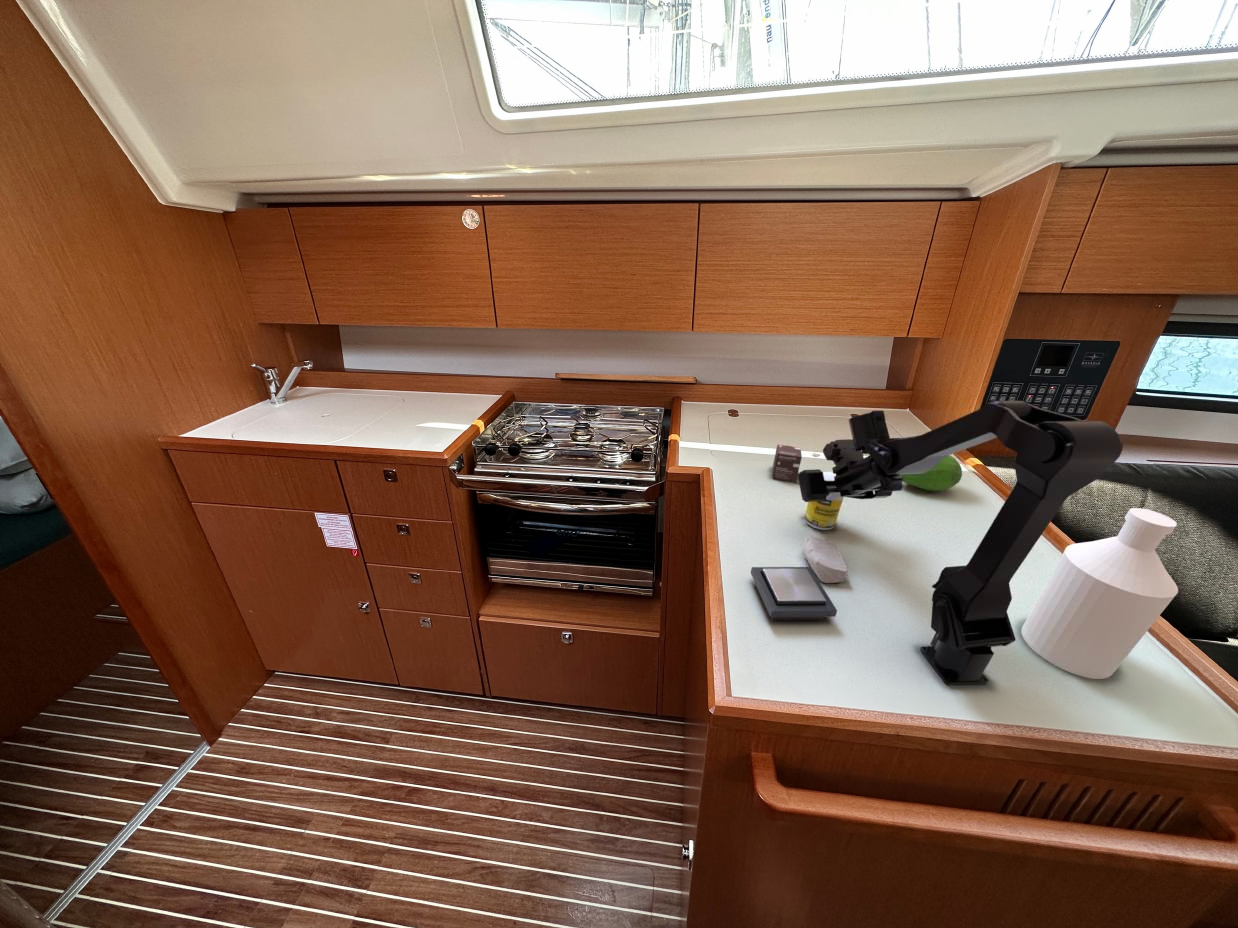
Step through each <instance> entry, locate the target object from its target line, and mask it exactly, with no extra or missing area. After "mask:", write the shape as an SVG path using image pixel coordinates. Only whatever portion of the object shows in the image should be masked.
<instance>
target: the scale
mask: <svg viewBox="0 0 1238 928" xmlns="http://www.w3.org/2000/svg"><path fill="white" fill-rule="evenodd" d="M763 569H807V570H808V572H809V573H810V575H811V577H812V578H813V580H814V582H815V583H816V585H817V587H818V588H819V590H820V591H821V593H822V595H823V596H824V598H825V600H826V602H825V605H818V606H776V603H775V601H774V599H773V597H772V595H771V593H770V591H769V589H768V587H767V585H766V582H765V580H764V578H763V576H762V571H763ZM750 575H751V577H752V579H753V582H754V584H755V586H756V588H757V591H758V593H759V595H760V598H761V600H762V602H763V604H764V606H765V608H766V611H767V613H768V616H769V617H770V619H771V621H824V620H826V618H835V617H836V616H837V613H838V610H837V608H836V606H835V604H834V603H833V601H832V600H831V598H830V596H829V595H828V594H827V591H826V590H825V588H824V587H823V586H822V584H821V582H820V580H819V578H818V576H817V575H816V574H815V572H814V571H813V569H812V568H811V566H752V567H751V569H750Z"/></svg>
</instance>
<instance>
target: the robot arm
mask: <svg viewBox="0 0 1238 928" xmlns="http://www.w3.org/2000/svg"><path fill="white" fill-rule="evenodd" d="M848 426H849V430H850V434H851V438H852V439H851V438H850V439H848V438H847V439H845V438H844V439H836V440H833V441H830V442H829V443H826V444H825V445H824V447H823V449H822V453H823V456H824V458H825V459H826V461H831V462H833V464H834V466H833V467H831V469H832V473H833V474H836V476H834V481H825V480H824V475H823V471H822V470H821V469H820V468H814V469H803V470H801V471H800V472H798V475H797V480H798V485H799V490H800V495H801V498H802V499H801V500H802V501H804V503H808V502H820V501H826V497H827V496H829V493H840V495H841V497H844V498H849V499H850V498H851V499H857V500H872V499H886V498H889V497H892V495H893V492H901V491H903V487H904V484H903V478H901V474H921V473H925V472H927V471H929V470H930V469H932V468H934V467H935V466H937V465H938V464H939V463H940V461H941V460H942V459H943V458H944V457H946V456H948V455H950V456H951V455H953V454H955V453H959V452H962V451H964V450H966V449H967V450H968V449H970V448H972V447H976V446H979V445H980V444H983V443H986V442H988V441H991V440H995V439H998V441H999V442H1000V443H1001V444H1002V445H1003V447H1005V448H1007V449H1009V450H1011V451H1013V452H1014V453H1016V454H1015V457H1014V460H1013V465H1014V470H1015V478H1016V482H1015V484H1014V486H1013V488H1012V489H1011V491H1010V492H1009V494H1008V496H1007V497H1006V500H1005V501H1004V503H1003V504H1002V506H1001V507H1000V509H999V511H998V512H997V514H996V516H995V518H994V519H993V521H992V523H991V524H990V526H989V528H988V529H987V531H986V533H985V534H984V536H983V537H982V539H981V540H980V543H979V544H978V546H977V547H976V549H975V551H974V553H973V554H972V556H971V557H970V559H969V561H968V562H967V564H965V565H955V566H953V565H952V566H945V567H944V568H943V569H942V570H941V571H940V574H939V576H938V579H937V581H936V582H935V583H934V584H932V585H931V587H932V589H934V590H933V592H932V595H931V602H932V605H931V621H930V628H931V629H932V630H933V631H934V632H935V633H934V635H933V637H932V639H931V641H930V646H929V645H928V646H926V645H924V646H923V645H922V646H921V647H920V649H919V650H920V652H921V653H922V654H923V656H924V657H925V659H926V660H927V661H928V662H929V664H930V665H931V667H932V668H933V669H934V671H935V672H936V673H937V675H939V677H940V678H941V679H942V681H943V682H944V683H945V684H947V685H949V686H951V685H953V686H954V685H987V684H988V683H989V682H990V681H989V679H988V677H987V676H986V675H985V674H984V672H985V670H986V669H987V667H988V665H989V664H990V661H991V660H992V658H993V657H994V655H995V652H994V651H993V650H992V648H994V647H1008V646H1009V645H1011V644H1013V643H1014V642H1016V641H1017V640H1016V636H1015V633H1014V630H1013V627H1012V624H1011V620H1010V617H1009V613H1008V609H1009V607H1010V605H1011V602H1012V600H1013V595H1012V590H1011V586H1010V582H1011V580H1012V578H1014V576H1015V574H1016V573H1017V571H1018V570H1019V568H1020V567H1021V566H1022V564H1023V563H1024V561H1025V560H1026V558H1028V555H1029V554H1030V552H1031V551H1032V550H1033V548H1034V546H1035V545H1036V544H1037V542H1038V541H1039V539H1040V538H1041V537H1042V535H1043V533H1044V532H1045V530H1046V529H1047V527H1049V525H1050V523H1051V522H1052V521H1053V519H1054V517H1055V516H1056V514H1057V513H1058V512H1059V510H1060V509H1061V508H1062V506H1063V504H1064V503H1065V501H1066V500H1067V499H1068V498H1069V497H1070V496H1073V494H1075V493H1077V492H1078V491H1080V490H1082V489H1083V488H1085V487H1087V486H1088V485H1090V484H1092V483H1093V482H1095V481H1096V480H1098V479H1099V478H1100V477H1101V476H1102V475H1103V474H1104V473H1105V472H1106V471H1107V470H1108V469H1110V468H1111V467H1112V466H1113V465H1114V464H1115V463H1116V461H1117V460H1118V459H1120V457H1121V455H1122V453H1123V449H1124V444H1123V442H1122V441H1121V439H1120V435H1119V433H1118V432H1117V431H1116V429H1115V428H1114V427H1113V426H1111V425H1110V424H1108V423H1107V422H1105V421H1104V422H1103V421H1101V420H1082V419H1079V418H1077V417H1074V416H1070V415H1066V414H1064V413H1059V412H1055V411H1052V410H1047V409H1044V408H1040V407H1038V406H1036V405H1033V404H1031V403H1028V402H1025V401H1023V400H994V401H990V402H988V403H986V404H984V405H982V406H981V408H978V409H976V410H974V411H971V412H969V413H967V414H965V415H963V416H960V417H958V418H955V419H954V420H952V421H950V422H947V423H945V424H943V425H941V426H938V427H935V428H934V429H931V430H929V431H927V432H924V433H923V434H919V435H914V436H913V435H912V436H906V437H890V436H891V435H890V432H889V428H888V425H887V421H886V415H885V412H884V410H882V409H881V410H880V409H879V410H872V411H870V412H867V413H863V414H858V415H856V416H852V417H850V418H849V419H848ZM864 455H868V456H865V457H864ZM831 487H836V488H831Z"/></svg>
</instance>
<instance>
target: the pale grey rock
mask: <svg viewBox="0 0 1238 928" xmlns="http://www.w3.org/2000/svg"><path fill="white" fill-rule="evenodd" d="M802 553H803V556H804V558H805V559H806V561H807V563H808V565H809V567H810V568H811V569H812V571H813V573H814V574H815V576H816V577H817V579H818V580H819V581H821V582H822V583H825V584H836V583H843V582H844V581H845V578H846V577H847V576H848V575H847V574H848V568H847V566H846V564H845V562H844V560H843V557H842V554H841V552H840V550H839V548H838V546H837V544H836V542H835V541H831V540H828V539H823V538H819V537H817V536H814V535H811V534H809V535H808V537H807V538H806V541H805V544H804V546H803V552H802Z"/></svg>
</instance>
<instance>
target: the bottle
mask: <svg viewBox="0 0 1238 928" xmlns="http://www.w3.org/2000/svg"><path fill="white" fill-rule="evenodd" d="M1124 520H1125V522H1124V523H1123V525H1122V527H1121V528H1120V530H1119V532H1118V534H1117V535H1115V536H1111V537H1106V538H1102V539H1097V540H1093V541H1083V542H1077V543H1072V544H1068V546H1066V547H1065V549H1064V550H1063V553H1062V554H1061V556H1060V558H1059V560H1058V562H1057V563H1056V565H1055V567H1054V569H1053V570H1052V573H1051V574H1050V575H1049V578H1048V580H1047V581H1046V583H1045V585H1044V586H1043V589H1042V590H1041V593H1040V595H1039V596H1038V598H1037V599H1036V602H1035V603H1034V605H1033V607H1032V609H1031V610H1030V612H1029V614H1028V615H1027V618H1026V619H1025V622H1024V623H1023V625H1022V627H1021V635H1022V639H1023V640H1024V641H1025V643H1026V644H1027V645H1028V646H1029V648H1031V650H1033V651H1034V653H1035V654H1037V655H1038V656H1040V657H1041V658H1043V659H1044V660H1045V661H1047V662H1049V663H1050V664H1052V665H1053V666H1055V667H1057V668H1059V669H1061V670H1063V671H1065V672H1068V673H1070V674H1073V675H1076V676H1079V677H1083V678H1086V679H1093V680H1103V679H1108V678H1110V677H1111V676H1112V675H1113V674H1114V673H1115V672H1116V671H1117V670H1118V668H1119V667H1120V666H1121V664H1123V662H1124V661H1125V659H1126V658H1127V657H1128V655H1129V654H1130V653H1131V652H1132V650H1133V649H1134V648H1135V647H1136V645H1137V644H1138V643H1139V642H1140V641H1141V639H1143V637H1144V636H1145V635H1146V633H1147V632H1148V631H1149V630H1150V628H1151V627H1152V626H1153V624H1155V622H1156V621H1157V619H1158V618H1159V617H1160V616H1161V614H1162V613H1163V612H1164V611H1165V609H1166V608H1167V607H1168V606H1169V604H1170V603H1171V602H1172V601H1173V599H1174V598H1175V597H1176V596H1177V595H1178V593H1179V588H1178V585H1177V584H1176V582H1175V580H1174V579H1173V578H1172V576H1171V575H1170V574H1169V573H1168V571H1167V570H1166V568H1165V566H1164V564H1163V562H1162V560H1161V559H1160V557H1159V555H1158V553H1157V551H1156V550H1157V548H1158V546H1159V545H1160V544H1161V542H1162V541H1163V540H1164V538H1165V537H1167V536H1168V535H1171V534H1172V533H1173V531H1174V530H1175V528H1176V527H1177V526H1178V523H1177V522H1176V521H1175V520H1174V519H1172V518H1171V517H1169V516H1167V515H1165V514H1163V513H1160V512H1158V511H1154V510H1150V509H1147V508H1140V507H1131V508H1129V510H1128V511H1127V513H1126V514H1125V516H1124Z"/></svg>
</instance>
